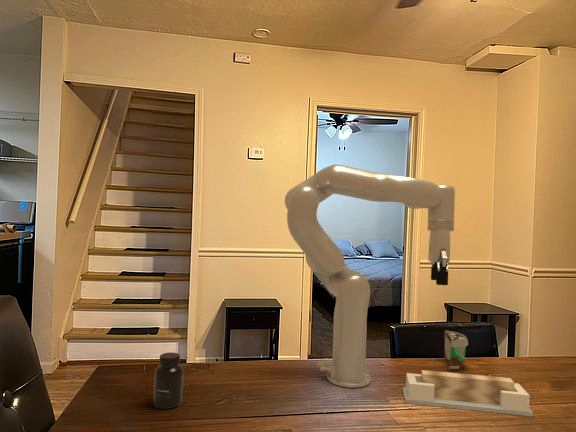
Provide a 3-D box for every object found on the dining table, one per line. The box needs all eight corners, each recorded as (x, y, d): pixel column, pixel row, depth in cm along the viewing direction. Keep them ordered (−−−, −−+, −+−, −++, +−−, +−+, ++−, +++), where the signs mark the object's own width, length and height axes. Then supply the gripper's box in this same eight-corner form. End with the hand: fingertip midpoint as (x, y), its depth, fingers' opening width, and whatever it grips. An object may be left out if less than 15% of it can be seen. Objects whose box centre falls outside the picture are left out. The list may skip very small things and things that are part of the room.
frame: (405, 403, 107) (406, 383, 107) (402, 390, 115) (403, 372, 115) (533, 416, 102) (533, 396, 102) (521, 402, 110) (521, 383, 110)
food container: (471, 374, 129) (472, 342, 129) (450, 372, 130) (451, 340, 130) (463, 361, 141) (464, 331, 141) (443, 359, 142) (444, 330, 142)
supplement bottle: (156, 412, 99) (157, 361, 99) (151, 400, 105) (152, 352, 105) (185, 407, 102) (186, 357, 102) (178, 396, 108) (180, 349, 108)
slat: (422, 397, 109) (423, 374, 109) (420, 392, 112) (421, 370, 112) (513, 406, 105) (514, 382, 105) (509, 401, 108) (510, 378, 108)
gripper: (423, 225, 136) (422, 277, 136) (432, 226, 119) (430, 286, 119) (448, 225, 135) (446, 279, 135) (460, 227, 118) (458, 287, 118)
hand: (439, 282), depth 127 cm, fingers open, 9 cm apart
